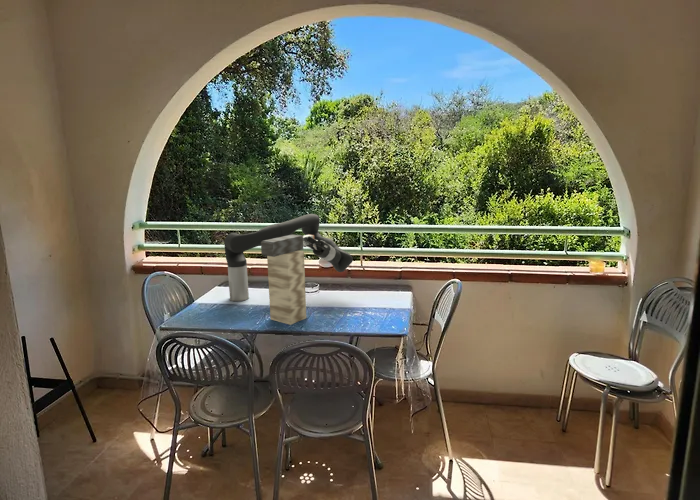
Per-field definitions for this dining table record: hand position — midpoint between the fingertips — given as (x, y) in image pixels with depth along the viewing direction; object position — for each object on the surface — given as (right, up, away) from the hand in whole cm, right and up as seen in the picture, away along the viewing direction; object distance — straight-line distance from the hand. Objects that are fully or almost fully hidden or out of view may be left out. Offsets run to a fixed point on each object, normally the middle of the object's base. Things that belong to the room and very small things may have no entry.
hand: (302, 237), depth 200 cm
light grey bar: (-4, -4, -4) cm, 7 cm away
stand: (-7, -36, -3) cm, 37 cm away
